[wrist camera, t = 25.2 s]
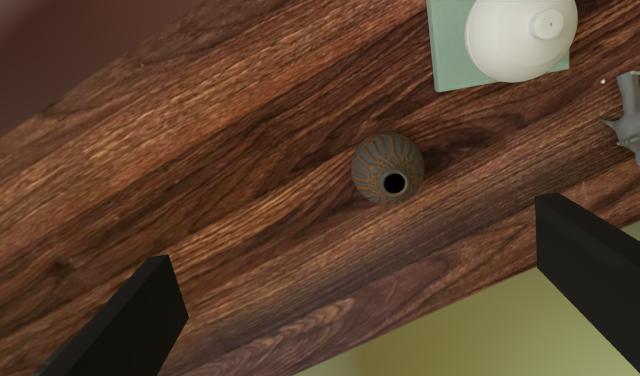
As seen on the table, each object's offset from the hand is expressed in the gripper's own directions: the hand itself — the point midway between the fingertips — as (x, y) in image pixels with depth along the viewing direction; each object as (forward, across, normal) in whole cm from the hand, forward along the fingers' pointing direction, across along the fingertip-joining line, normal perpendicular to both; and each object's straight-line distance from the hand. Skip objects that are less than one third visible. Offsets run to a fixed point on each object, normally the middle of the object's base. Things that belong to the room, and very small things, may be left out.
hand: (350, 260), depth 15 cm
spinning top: (+27, +14, +6) cm, 31 cm away
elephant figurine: (+29, +27, -4) cm, 40 cm away
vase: (+29, +4, -4) cm, 30 cm away
